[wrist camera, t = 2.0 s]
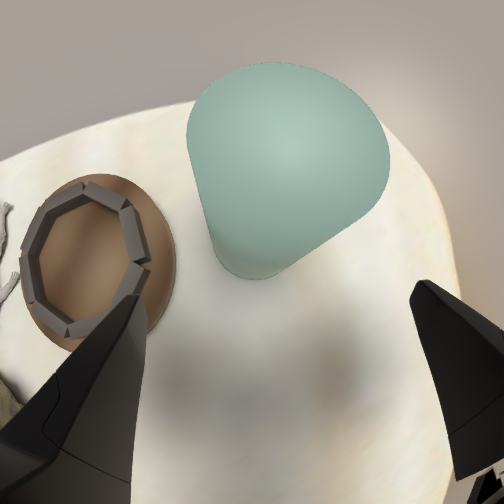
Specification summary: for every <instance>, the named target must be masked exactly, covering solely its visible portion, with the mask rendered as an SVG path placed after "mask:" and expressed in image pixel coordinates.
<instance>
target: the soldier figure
mask: <svg viewBox="0 0 504 504" xmlns="http://www.w3.org/2000/svg"><path fill="white" fill-rule="evenodd" d="M9 209H10V204H9V203H7V202H5V203H4V205H3V208H2V210H1V212H0V256H1V252H2V244H3V243H4V241H5V236H6V232H5V215H6V214H7V212H8V210H9ZM15 274H16V275H15ZM17 274H18V273H16V272H15V273H14V275H13V272H12V275H11V278H10V280H9V283H7V284H6V285H5V286H4V288H2V289H1V290H0V303H1V302H2V301H3V300H5V298H6V297H7V296H8V295H9V293H10V292H11V290H12V289H13V286H14V284H15V283H16V281H17V279H18V276H19V274H18V275H17ZM12 276H13V277H12ZM14 276H15V278H14Z"/></svg>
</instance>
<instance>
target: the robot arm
mask: <svg viewBox="0 0 504 504" xmlns="http://www.w3.org/2000/svg"><path fill="white" fill-rule="evenodd" d="M409 303H410V307H411V310H412V314H413V317H414V320H415V324H416V328H417V331H418V335H419V338H420V342H421V345H422V347H423V350H424V353H425V356H426V359H427V362H428V365H429V368H430V371H431V374H432V377H433V381H434V384H435V387H436V391H437V394H438V398H439V401H440V405H441V409H442V413H443V417H444V421H445V425H446V429H447V434H448V439H449V444H450V449H451V454H452V460H453V466H454V472H455V479H456V481H459V480H462V479H464V478H466V477H468V476H470V475H472V474H475V473H477V472H479V471H481V470H483V469H485V468H487V467H489V466H491V465H492V467H491V468H489V469H488V470H486V471H485V472H484V473H482V474H481V475H480V476H478V477H477V478H476V481H475V483H474V486H473V489H472V491H471V494H470V496H469V499H468V501H467V504H504V331H503V330H502V329H500V328H499V327H497V326H496V325H495V324H493V323H492V322H491V321H489V320H488V319H486V318H485V317H484V316H482V315H481V314H479V313H478V312H477V311H475V310H474V309H472V308H471V307H469V306H468V305H466V304H465V303H463V302H462V301H461V300H459V299H458V298H456V297H455V296H453V295H452V294H450V293H449V292H447V291H445V290H444V289H442V288H441V287H439V286H438V285H436V284H435V283H433V282H432V281H430V280H427V279H426V280H419V281H418V282H417V283H416V285H415V288H414V290H413V292H412V294H411V296H410V299H409ZM147 322H148V317H147V312H146V309H145V306H144V303H143V299H142V297H141V295H139V294H128V295H126V296H125V297H124V298H123V299H122V300H121V301H120V302H119V303H118V304H117V305H116V306H115V307H114V308H113V309H112V310H111V311H110V312H109V313H108V314H107V316H106V317H105V318H104V319H103V320H102V321H101V322H100V323H99V324H98V325H97V326H96V327H95V328H94V329H93V330H92V331H91V332H90V334H89V335H88V336H87V337H86V338H85V339H84V340H83V341H82V342H81V343H80V344H79V345H78V347H77V348H76V349H75V350H74V351H73V352H72V353H71V354H70V355H69V357H68V358H67V359H66V360H65V361H64V362H63V363H62V364H61V366H60V367H59V368H58V369H57V370H56V373H54V374H53V375H52V376H51V377H50V378H49V379H48V381H47V382H46V383H45V384H44V385H43V386H42V387H41V388H40V390H39V391H38V392H37V393H36V394H35V395H34V396H33V397H32V398H31V399H30V400H29V401H28V402H27V403H26V404H25V405H24V406H23V407H22V408H21V409H20V410H19V411H18V412H17V413H16V414H15V415H14V416H13V417H12V418H11V419H10V420H9V421H8V422H7V423H6V425H5V426H4V427H2V428H1V429H0V504H130V502H131V477H132V462H133V450H134V439H135V430H136V421H137V413H138V406H139V398H140V391H141V385H142V378H143V372H144V365H145V350H146V335H147Z"/></svg>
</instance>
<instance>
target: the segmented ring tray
mask: <svg viewBox="0 0 504 504" xmlns="http://www.w3.org/2000/svg"><path fill="white" fill-rule="evenodd" d="M20 249H21V250H22V253H21V257H20V258H19V263H20V278H21V286H22V291H23V296H24V299H25V302H26V305H27V308H28V310H29V312H30V314H31V316H32V318H33V320H34V321H35V323H36V324H37V326H38V327H39V329H40V330H41V331H42V332H43V333H44V335H45V336H47V337H48V338H49V339H50V340H51V341H52V342H53V343H55V344H56V345H58V346H59V347H61V348H63V349H65V350H67V351H69V352H73V351H74V350H75V349H76V348H77V347H78V345H79V344H80V343H81V342H82V341H83V340H84V339H85V338H86V337H87V336H88V335H89V334H90V332H91V331H92V330H93V329H94V328H95V327H96V326H97V325H98V324H99V323H100V322H101V321H102V320H103V319H104V318H105V317H106V316H107V314H108V313H109V312H110V311H111V310H112V309H113V308H114V307H115V306H116V305H117V304H118V303H119V302H120V301H121V300H122V299H123V298H124V297H125V296H126V295H128V294H139V295H141V297H142V299H143V303H144V306H145V309H146V312H147V317H148V322H147V333H148V332H149V331H150V330H151V329H152V328H153V327H154V326H155V325H156V323H157V322H158V320H159V319H160V318H161V316H162V314H163V312H164V311H165V309H166V307H167V305H168V302H169V299H170V297H171V294H172V290H173V286H174V282H175V274H176V254H175V246H174V242H173V237H172V234H171V231H170V229H169V226H168V224H167V222H166V220H165V218H164V216H163V215H162V213H161V212H160V211H159V209H158V208H157V206H156V205H155V204H154V202H153V201H152V199H151V198H150V197H149V196H148V195H147V194H146V193H145V192H144V191H143V190H142V189H141V188H140V187H138V186H137V185H136V184H134V183H133V182H131V181H129V180H127V179H125V178H122V177H119V176H116V175H110V174H92V175H86V176H83V177H79V178H77V179H74V180H72V181H70V182H68V183H66V184H65V185H63V186H62V187H60V188H59V189H58V190H56V191H55V192H54V193H53V194H52V195H51V196H50V197H49V198H48V199H46V200H45V202H44V203H43V204H42V206H41V207H39V208H38V210H37V212H36V214H35V216H34V218H33V220H32V222H31V224H30V226H29V228H28V231H27V233H26V235H25V238H24V240H23V243H22V245H21V247H20Z"/></svg>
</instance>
